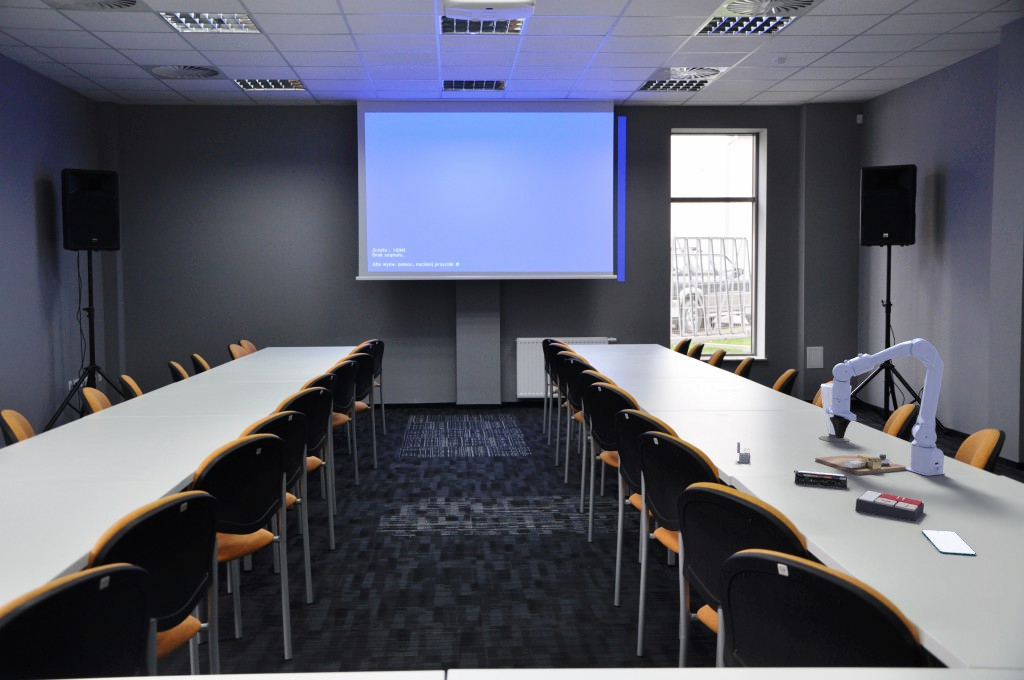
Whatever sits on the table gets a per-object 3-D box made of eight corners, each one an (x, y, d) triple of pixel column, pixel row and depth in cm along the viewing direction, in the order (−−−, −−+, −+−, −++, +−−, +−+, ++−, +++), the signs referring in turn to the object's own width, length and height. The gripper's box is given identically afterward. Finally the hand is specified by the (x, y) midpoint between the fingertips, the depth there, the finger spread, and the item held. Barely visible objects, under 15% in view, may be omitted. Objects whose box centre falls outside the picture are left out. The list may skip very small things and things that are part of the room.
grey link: (882, 461, 267) (882, 457, 267) (892, 464, 263) (892, 460, 263) (843, 465, 261) (843, 461, 261) (853, 468, 257) (853, 464, 257)
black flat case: (786, 478, 253) (786, 465, 253) (871, 486, 244) (871, 473, 243) (783, 489, 240) (784, 476, 239) (873, 498, 230) (874, 484, 230)
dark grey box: (916, 509, 206) (856, 496, 216) (914, 525, 207) (854, 511, 216) (924, 500, 215) (866, 488, 224) (923, 515, 215) (865, 502, 225)
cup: (820, 441, 307) (822, 386, 305) (816, 435, 318) (818, 382, 316) (852, 443, 304) (854, 387, 302) (846, 437, 315) (849, 384, 314)
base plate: (905, 470, 262) (906, 457, 261) (857, 475, 255) (858, 461, 255) (860, 457, 280) (861, 444, 280) (815, 461, 274) (815, 448, 274)
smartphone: (977, 558, 182) (954, 535, 197) (977, 554, 181) (954, 531, 197) (939, 555, 183) (920, 532, 199) (939, 551, 183) (920, 529, 199)
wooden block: (881, 468, 259) (881, 458, 258) (872, 469, 258) (873, 459, 257) (865, 463, 265) (865, 454, 265) (856, 464, 264) (857, 454, 264)
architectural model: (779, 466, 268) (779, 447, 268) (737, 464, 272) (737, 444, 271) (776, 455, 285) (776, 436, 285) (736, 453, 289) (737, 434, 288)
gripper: (818, 395, 274) (817, 434, 275) (843, 402, 259) (841, 442, 261) (836, 395, 275) (835, 433, 276) (862, 401, 261) (861, 441, 262)
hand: (839, 437), depth 268 cm, fingers closed
